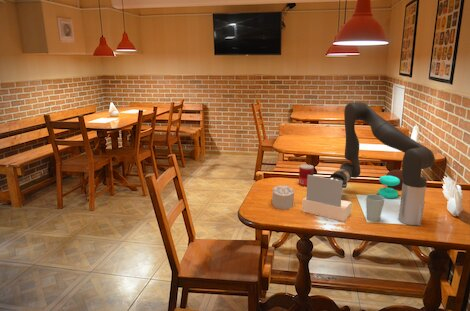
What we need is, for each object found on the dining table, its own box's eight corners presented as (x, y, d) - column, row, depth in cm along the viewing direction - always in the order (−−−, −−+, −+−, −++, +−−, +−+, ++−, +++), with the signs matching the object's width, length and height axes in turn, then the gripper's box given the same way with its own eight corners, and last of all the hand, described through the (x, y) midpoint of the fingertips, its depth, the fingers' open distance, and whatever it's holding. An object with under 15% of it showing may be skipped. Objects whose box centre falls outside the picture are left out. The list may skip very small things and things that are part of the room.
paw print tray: (292, 200, 188) (293, 184, 186) (294, 210, 175) (294, 193, 173) (272, 199, 189) (272, 183, 187) (272, 209, 176) (272, 192, 174)
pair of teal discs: (379, 174, 198) (399, 175, 195) (377, 191, 201) (397, 193, 197) (379, 179, 189) (401, 181, 186) (378, 197, 191) (398, 200, 188)
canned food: (312, 187, 207) (313, 168, 204) (298, 186, 208) (299, 167, 205) (312, 183, 214) (313, 164, 211) (298, 182, 215) (299, 164, 213)
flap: (340, 206, 162) (342, 180, 159) (340, 207, 162) (342, 181, 159) (306, 199, 171) (308, 174, 168) (306, 199, 171) (307, 174, 168)
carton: (350, 214, 171) (351, 201, 169) (343, 221, 163) (345, 208, 161) (309, 204, 181) (310, 193, 180) (302, 211, 174) (302, 199, 172)
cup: (385, 222, 162) (387, 200, 160) (368, 222, 162) (370, 200, 159) (377, 215, 169) (379, 194, 167) (361, 215, 169) (363, 194, 166)
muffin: (381, 187, 207) (383, 170, 204) (389, 182, 215) (390, 166, 212) (403, 192, 199) (405, 175, 196) (410, 187, 207) (412, 170, 204)
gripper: (327, 168, 185) (314, 177, 171) (353, 173, 178) (342, 182, 164) (326, 182, 187) (313, 192, 173) (352, 187, 180) (340, 198, 166)
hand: (327, 187), depth 169 cm, fingers closed
